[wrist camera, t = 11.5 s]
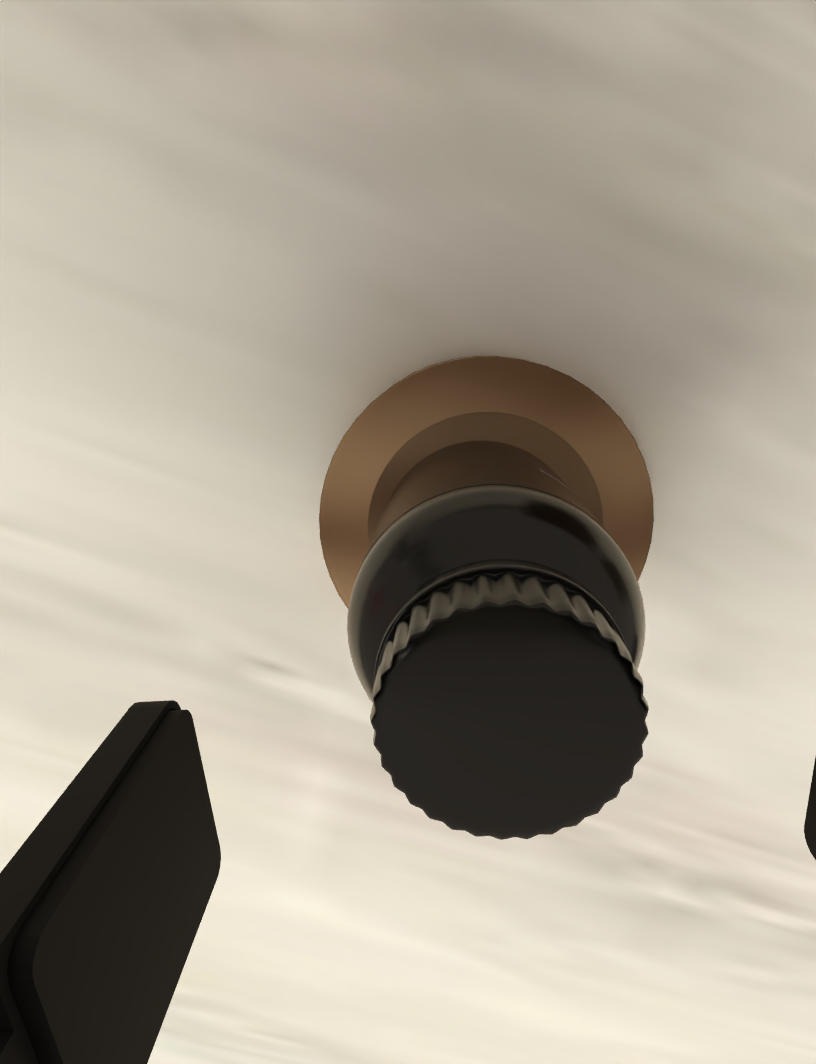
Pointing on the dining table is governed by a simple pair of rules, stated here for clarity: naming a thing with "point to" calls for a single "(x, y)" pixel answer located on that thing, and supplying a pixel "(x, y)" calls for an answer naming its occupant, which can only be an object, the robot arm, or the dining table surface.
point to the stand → (490, 415)
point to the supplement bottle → (499, 645)
